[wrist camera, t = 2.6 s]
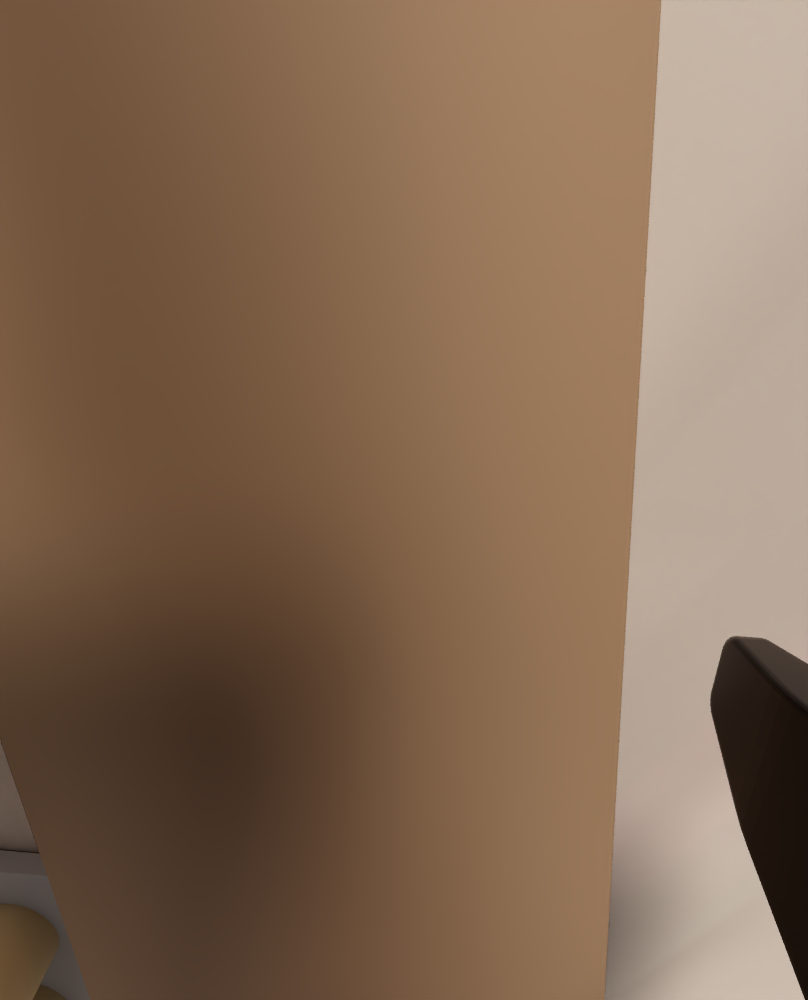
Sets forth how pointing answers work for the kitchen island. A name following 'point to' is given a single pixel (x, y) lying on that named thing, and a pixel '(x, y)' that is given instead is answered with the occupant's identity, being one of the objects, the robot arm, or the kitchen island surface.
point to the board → (322, 484)
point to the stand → (34, 935)
